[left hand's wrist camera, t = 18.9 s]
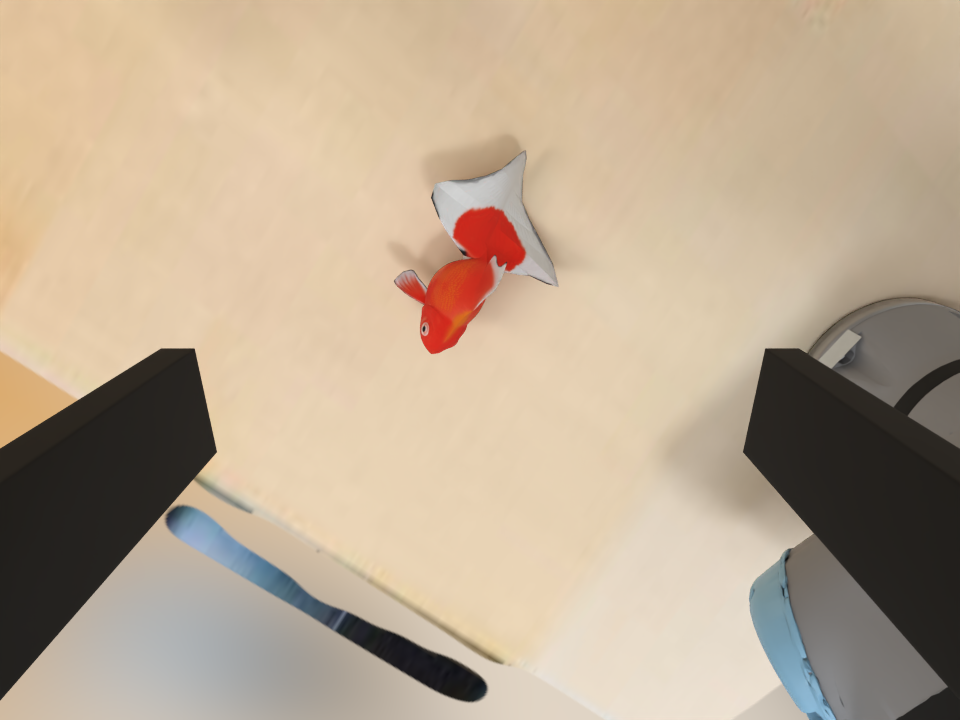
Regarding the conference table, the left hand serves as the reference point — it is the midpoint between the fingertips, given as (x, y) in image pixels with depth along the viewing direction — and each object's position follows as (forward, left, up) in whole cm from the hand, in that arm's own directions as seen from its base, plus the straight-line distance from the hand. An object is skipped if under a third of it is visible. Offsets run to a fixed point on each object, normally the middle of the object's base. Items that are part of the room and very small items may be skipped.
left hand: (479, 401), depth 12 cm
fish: (-1, +1, -32) cm, 32 cm away
